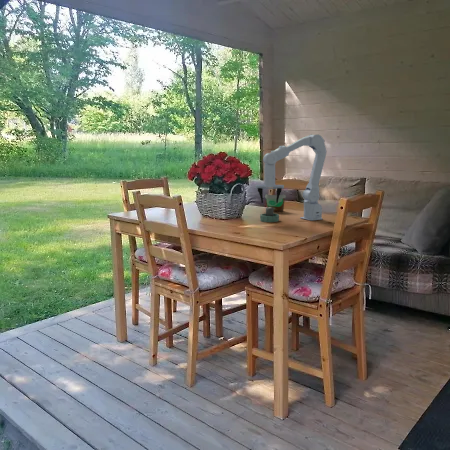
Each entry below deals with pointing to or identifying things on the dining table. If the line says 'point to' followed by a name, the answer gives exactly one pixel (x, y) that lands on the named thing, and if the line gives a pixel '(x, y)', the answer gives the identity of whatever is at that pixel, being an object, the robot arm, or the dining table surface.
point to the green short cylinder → (269, 218)
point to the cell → (269, 211)
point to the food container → (272, 202)
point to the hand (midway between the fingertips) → (269, 202)
